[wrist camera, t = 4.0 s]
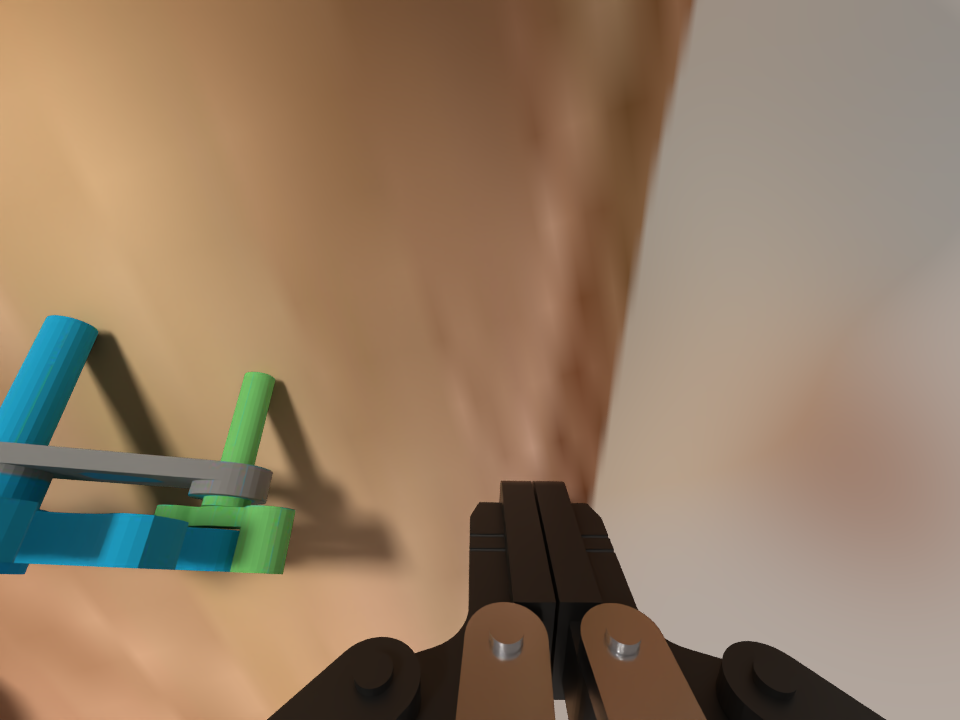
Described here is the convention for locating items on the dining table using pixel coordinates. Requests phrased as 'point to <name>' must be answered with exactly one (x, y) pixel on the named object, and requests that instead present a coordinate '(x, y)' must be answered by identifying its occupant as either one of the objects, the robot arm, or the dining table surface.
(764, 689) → the robot arm
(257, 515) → the gear
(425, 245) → the dining table surface
